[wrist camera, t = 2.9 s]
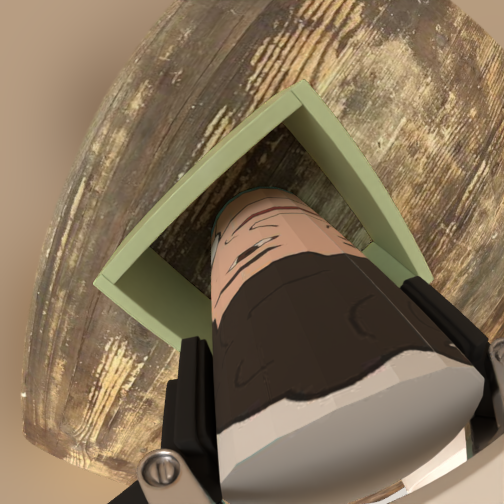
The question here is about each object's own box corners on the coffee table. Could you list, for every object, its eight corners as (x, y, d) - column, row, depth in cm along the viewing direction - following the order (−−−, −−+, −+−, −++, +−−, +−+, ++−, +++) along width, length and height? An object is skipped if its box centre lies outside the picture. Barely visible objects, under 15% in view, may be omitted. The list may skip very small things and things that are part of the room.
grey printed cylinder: (334, 217, 19) (510, 380, 5) (282, 299, 21) (361, 505, 7) (243, 166, 17) (368, 327, 3) (192, 261, 19) (176, 508, 5)
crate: (274, 94, 15) (304, 77, 10) (385, 241, 20) (434, 279, 15) (124, 238, 18) (92, 284, 12) (255, 348, 22) (268, 408, 17)
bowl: (379, 447, 34) (399, 489, 26) (473, 380, 32) (501, 416, 24) (400, 465, 40) (414, 497, 33) (472, 415, 38) (491, 443, 31)
